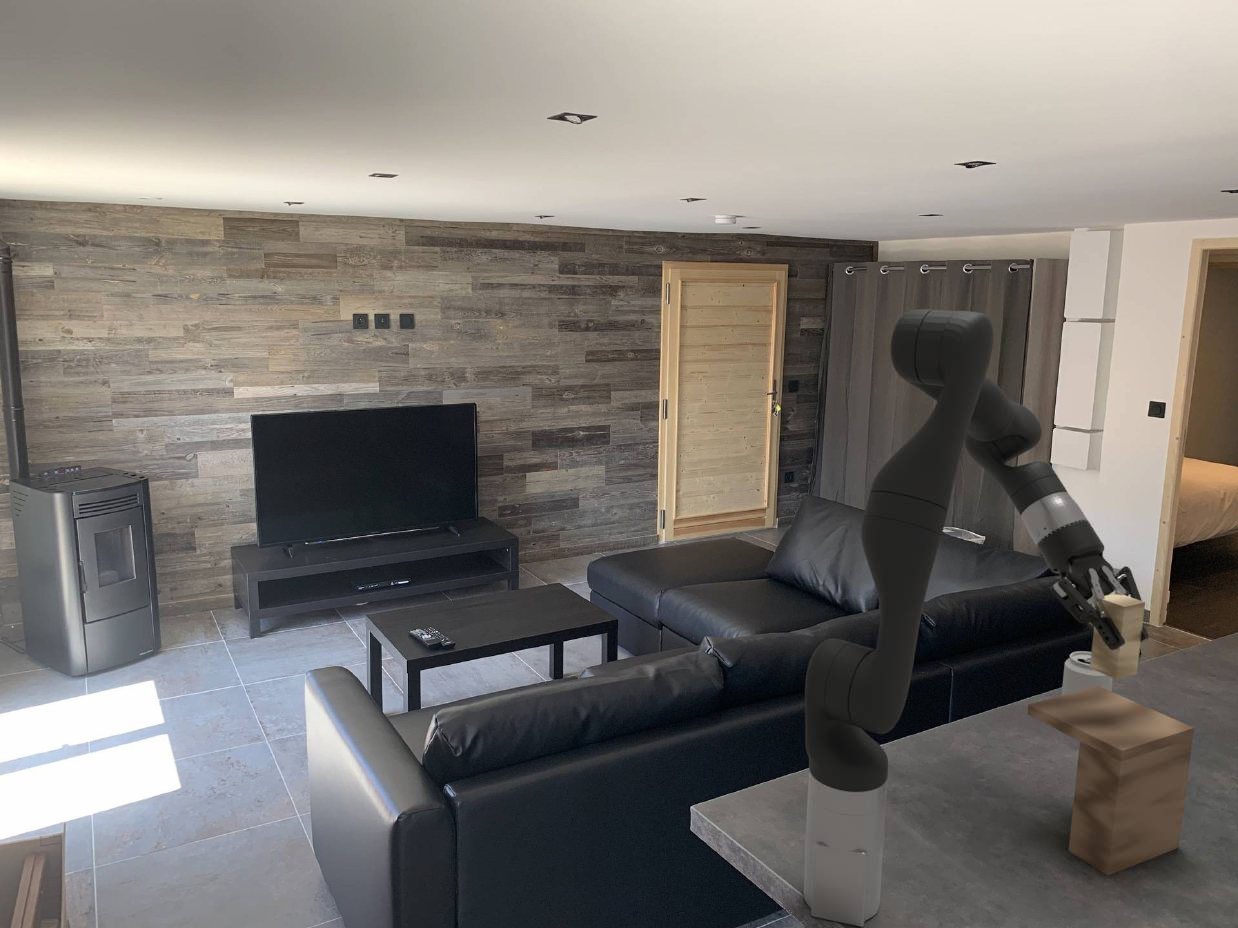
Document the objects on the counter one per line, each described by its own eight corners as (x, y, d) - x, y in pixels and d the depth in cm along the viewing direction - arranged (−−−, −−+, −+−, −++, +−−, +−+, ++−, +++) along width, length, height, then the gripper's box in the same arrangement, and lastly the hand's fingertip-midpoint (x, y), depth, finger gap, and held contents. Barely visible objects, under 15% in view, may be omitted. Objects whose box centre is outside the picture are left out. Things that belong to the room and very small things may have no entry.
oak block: (1089, 667, 131) (1097, 597, 128) (1110, 662, 132) (1117, 592, 130) (1116, 679, 127) (1124, 606, 125) (1136, 673, 129) (1145, 602, 127)
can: (1049, 717, 169) (1055, 652, 166) (1080, 709, 172) (1086, 645, 169) (1086, 736, 162) (1093, 669, 160) (1117, 727, 165) (1124, 661, 163)
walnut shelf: (1017, 818, 138) (1028, 704, 134) (1086, 795, 144) (1097, 685, 140) (1107, 875, 125) (1122, 750, 121) (1178, 847, 131) (1194, 727, 127)
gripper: (1042, 524, 129) (1113, 641, 121) (1114, 512, 135) (1187, 623, 127) (1007, 551, 135) (1073, 665, 127) (1078, 539, 141) (1145, 647, 133)
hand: (1130, 643), depth 127 cm, fingers closed on oak block, 4 cm apart
